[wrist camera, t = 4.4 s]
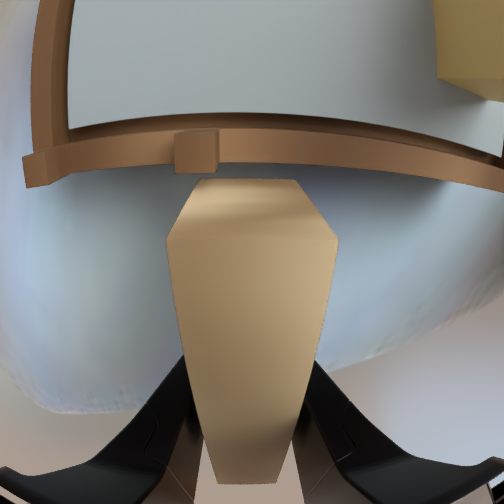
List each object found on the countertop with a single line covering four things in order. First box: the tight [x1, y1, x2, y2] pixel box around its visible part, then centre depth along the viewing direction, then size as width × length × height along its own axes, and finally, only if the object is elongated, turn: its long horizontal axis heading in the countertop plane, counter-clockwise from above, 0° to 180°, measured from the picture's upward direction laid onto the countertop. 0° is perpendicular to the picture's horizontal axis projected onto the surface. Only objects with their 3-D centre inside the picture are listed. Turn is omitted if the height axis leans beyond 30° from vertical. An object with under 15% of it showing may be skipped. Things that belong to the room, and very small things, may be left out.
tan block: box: [166, 178, 339, 484], centre depth 8 cm, size 2×11×4 cm, turn 179°
